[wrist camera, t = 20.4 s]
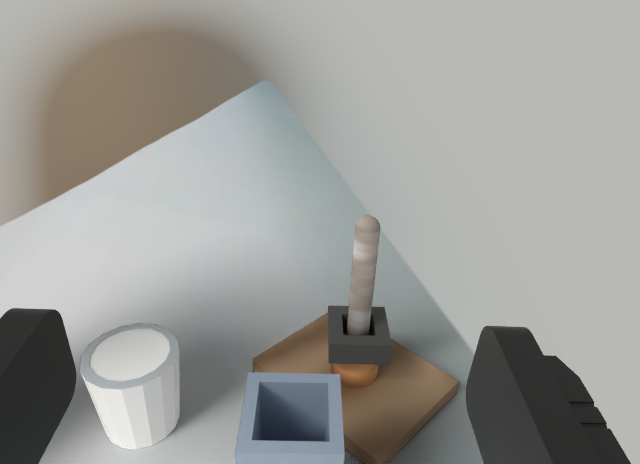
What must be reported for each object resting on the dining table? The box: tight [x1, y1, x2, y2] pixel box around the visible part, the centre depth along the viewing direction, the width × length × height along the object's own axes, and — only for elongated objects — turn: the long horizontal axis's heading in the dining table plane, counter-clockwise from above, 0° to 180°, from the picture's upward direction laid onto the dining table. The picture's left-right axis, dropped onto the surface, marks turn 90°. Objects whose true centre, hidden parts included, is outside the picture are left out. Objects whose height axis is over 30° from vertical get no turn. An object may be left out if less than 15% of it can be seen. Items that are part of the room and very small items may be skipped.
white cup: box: [80, 323, 180, 449], centre depth 38 cm, size 7×7×7 cm
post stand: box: [253, 215, 459, 464], centre depth 40 cm, size 14×11×16 cm
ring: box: [327, 306, 392, 365], centre depth 41 cm, size 5×5×2 cm
